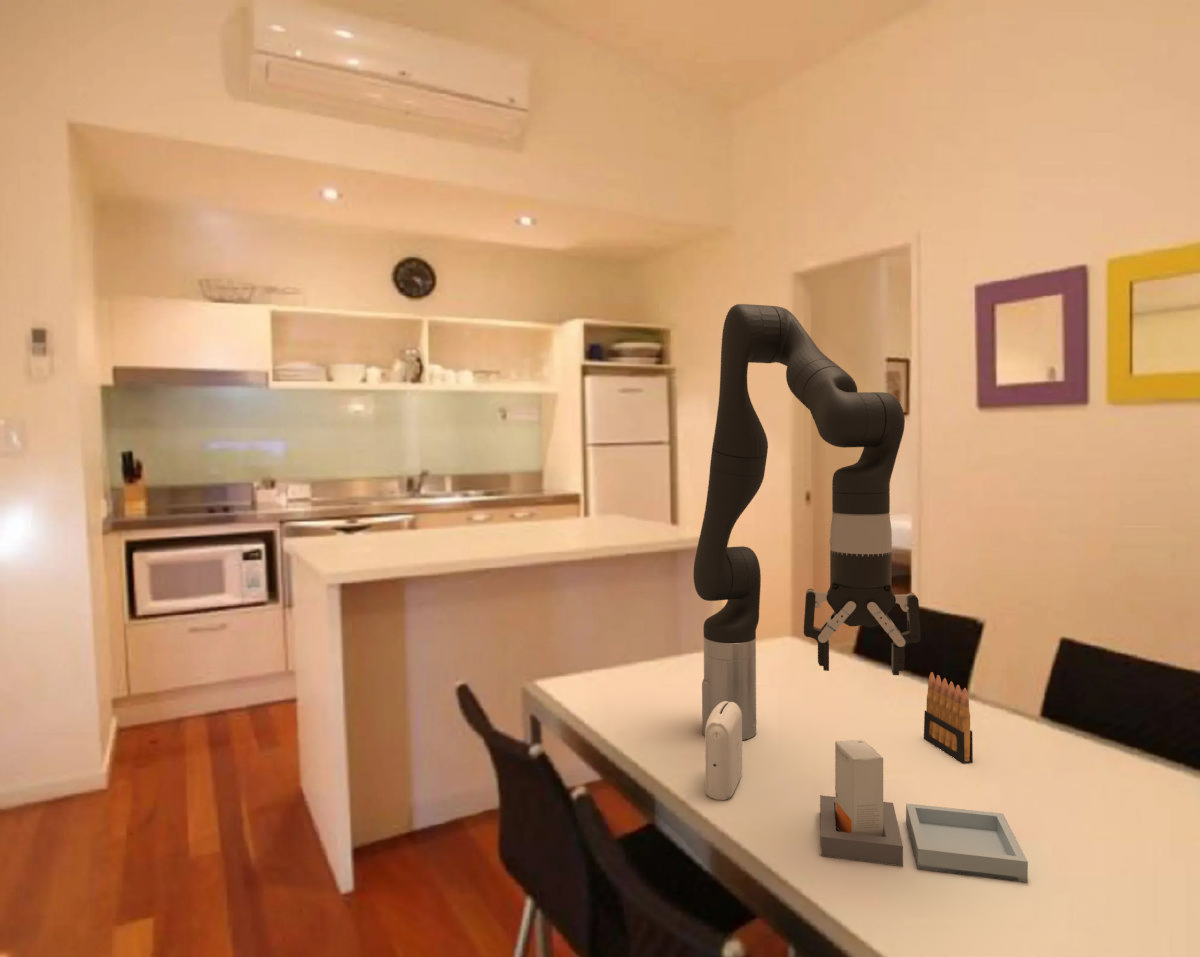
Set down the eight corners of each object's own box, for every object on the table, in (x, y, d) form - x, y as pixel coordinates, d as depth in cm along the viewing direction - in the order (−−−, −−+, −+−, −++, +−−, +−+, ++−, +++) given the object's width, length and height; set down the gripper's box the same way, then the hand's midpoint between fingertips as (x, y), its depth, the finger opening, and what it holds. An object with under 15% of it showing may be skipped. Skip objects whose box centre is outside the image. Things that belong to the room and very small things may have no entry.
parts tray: (917, 868, 94) (918, 848, 94) (906, 821, 105) (906, 803, 105) (1027, 882, 91) (1027, 861, 90) (1002, 831, 102) (1003, 813, 102)
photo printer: (731, 803, 111) (730, 719, 111) (702, 798, 113) (701, 715, 112) (745, 773, 121) (744, 696, 120) (718, 769, 122) (717, 693, 122)
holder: (821, 855, 97) (821, 836, 97) (820, 812, 108) (820, 795, 108) (902, 866, 94) (902, 846, 94) (892, 820, 105) (893, 802, 105)
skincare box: (833, 827, 104) (834, 740, 103) (864, 825, 104) (864, 738, 104) (852, 850, 98) (852, 758, 97) (884, 848, 98) (885, 757, 98)
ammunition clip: (973, 763, 124) (974, 689, 123) (962, 764, 123) (963, 690, 123) (932, 737, 134) (933, 669, 134) (923, 738, 134) (923, 670, 133)
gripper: (803, 550, 98) (803, 676, 98) (924, 553, 94) (923, 684, 95) (803, 542, 105) (803, 660, 106) (915, 544, 101) (915, 666, 102)
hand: (860, 671), depth 100 cm, fingers open, 8 cm apart
